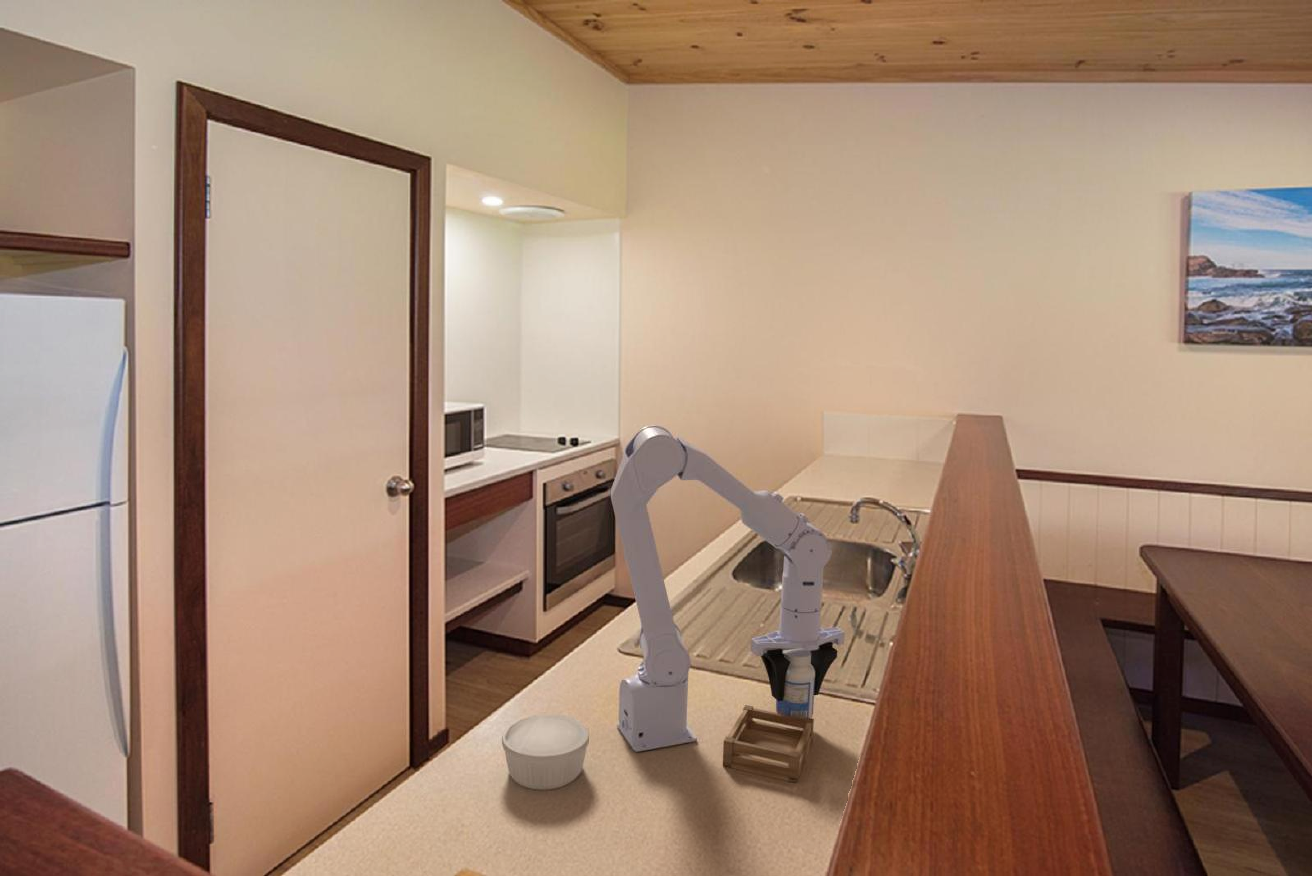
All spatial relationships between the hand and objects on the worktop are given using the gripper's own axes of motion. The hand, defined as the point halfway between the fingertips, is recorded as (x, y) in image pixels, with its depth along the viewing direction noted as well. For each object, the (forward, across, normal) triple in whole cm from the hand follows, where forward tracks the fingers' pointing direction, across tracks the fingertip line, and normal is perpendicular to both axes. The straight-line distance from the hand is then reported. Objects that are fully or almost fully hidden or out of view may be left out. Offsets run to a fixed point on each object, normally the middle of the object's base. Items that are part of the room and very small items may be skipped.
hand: (794, 695), depth 118 cm
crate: (+5, -7, -5) cm, 10 cm away
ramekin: (+6, -37, +1) cm, 37 cm away
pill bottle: (+3, 0, 0) cm, 3 cm away
